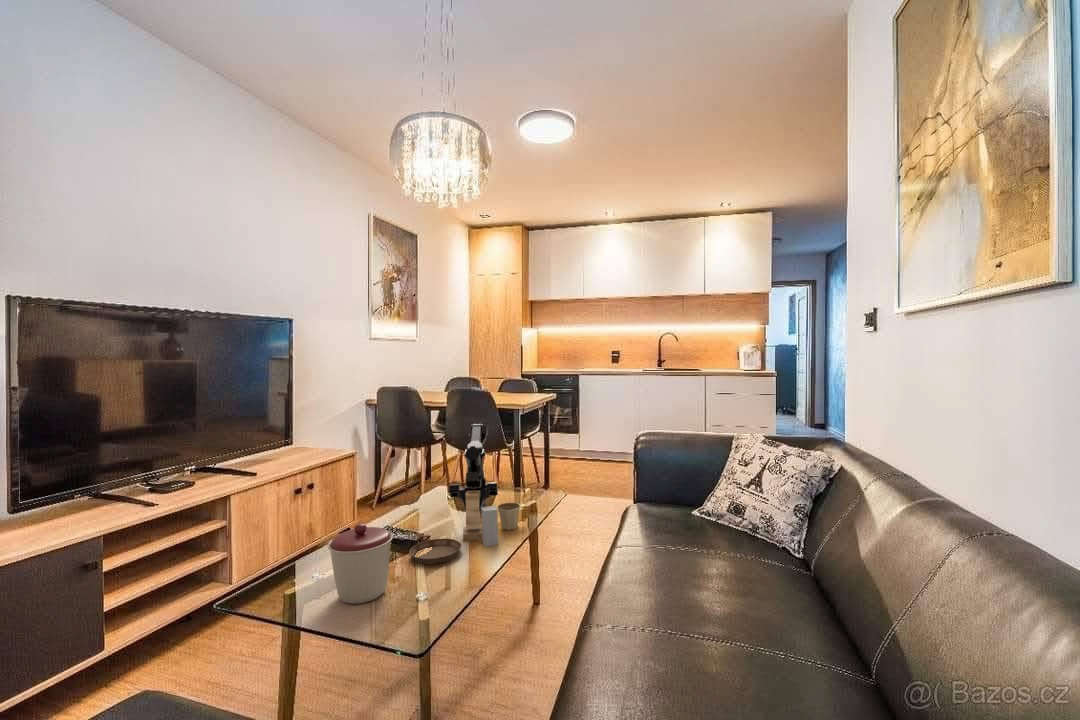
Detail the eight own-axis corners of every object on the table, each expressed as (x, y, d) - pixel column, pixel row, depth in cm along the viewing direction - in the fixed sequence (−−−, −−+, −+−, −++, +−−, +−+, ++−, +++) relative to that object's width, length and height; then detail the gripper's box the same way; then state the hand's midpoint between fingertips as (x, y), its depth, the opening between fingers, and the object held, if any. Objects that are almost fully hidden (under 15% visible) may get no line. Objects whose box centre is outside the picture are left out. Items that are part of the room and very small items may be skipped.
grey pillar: (482, 541, 183) (481, 507, 183) (495, 540, 184) (494, 505, 184) (484, 546, 178) (483, 511, 178) (498, 544, 179) (497, 509, 179)
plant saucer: (400, 557, 172) (399, 548, 172) (443, 542, 184) (442, 534, 184) (427, 572, 159) (427, 562, 159) (471, 554, 172) (471, 546, 172)
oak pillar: (467, 524, 191) (466, 490, 190) (480, 523, 191) (479, 490, 191) (466, 528, 186) (465, 494, 185) (479, 528, 186) (478, 494, 186)
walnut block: (463, 534, 192) (463, 527, 192) (484, 533, 193) (484, 525, 193) (463, 542, 184) (462, 534, 184) (484, 540, 185) (484, 532, 185)
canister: (373, 575, 157) (370, 510, 157) (407, 591, 146) (404, 521, 146) (317, 598, 143) (315, 526, 143) (350, 618, 132) (347, 540, 132)
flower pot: (510, 533, 190) (510, 511, 190) (492, 528, 196) (492, 507, 196) (526, 526, 198) (525, 504, 198) (508, 521, 204) (507, 501, 203)
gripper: (448, 464, 191) (445, 500, 180) (496, 461, 192) (496, 498, 181) (451, 478, 199) (449, 515, 189) (497, 476, 200) (497, 512, 190)
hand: (472, 510), depth 187 cm, fingers closed on oak pillar, 5 cm apart
